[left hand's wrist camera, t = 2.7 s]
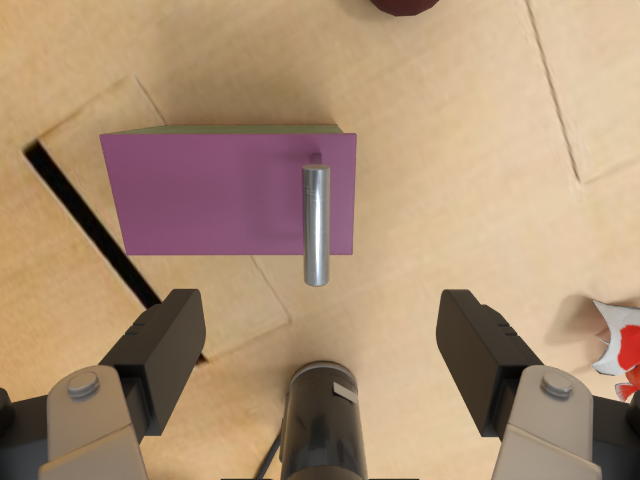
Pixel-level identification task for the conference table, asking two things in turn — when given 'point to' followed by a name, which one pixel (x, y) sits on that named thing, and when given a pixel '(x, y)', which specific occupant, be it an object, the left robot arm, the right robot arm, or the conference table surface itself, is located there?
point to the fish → (621, 347)
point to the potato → (404, 6)
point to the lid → (235, 194)
